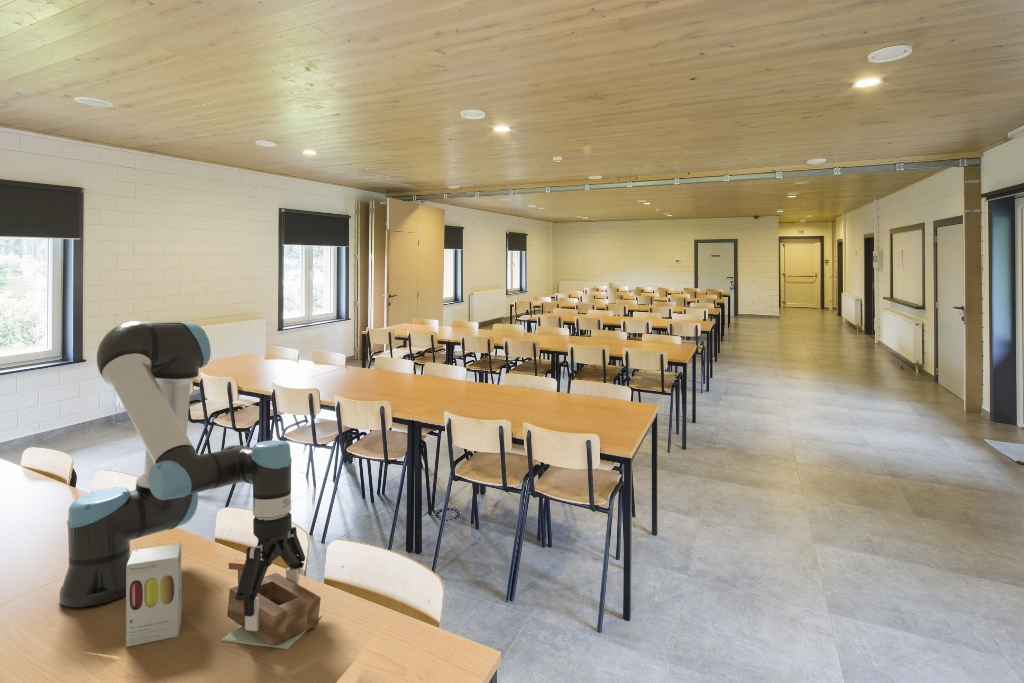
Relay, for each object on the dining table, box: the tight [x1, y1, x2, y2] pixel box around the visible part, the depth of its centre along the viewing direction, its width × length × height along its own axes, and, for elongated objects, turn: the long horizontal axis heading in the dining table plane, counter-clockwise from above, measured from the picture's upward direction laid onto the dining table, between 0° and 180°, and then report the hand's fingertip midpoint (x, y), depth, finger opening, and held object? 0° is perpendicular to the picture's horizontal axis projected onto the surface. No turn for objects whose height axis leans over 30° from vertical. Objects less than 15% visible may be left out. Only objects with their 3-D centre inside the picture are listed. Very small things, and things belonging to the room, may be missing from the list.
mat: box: [221, 613, 323, 650], centre depth 119 cm, size 15×13×1 cm
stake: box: [228, 558, 246, 586], centre depth 129 cm, size 7×4×10 cm, turn 78°
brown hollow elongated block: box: [226, 572, 321, 646], centre depth 119 cm, size 11×16×6 cm
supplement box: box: [125, 542, 183, 648], centre depth 118 cm, size 10×9×17 cm
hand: (273, 613), depth 119 cm, fingers closed on brown hollow elongated block, 13 cm apart
